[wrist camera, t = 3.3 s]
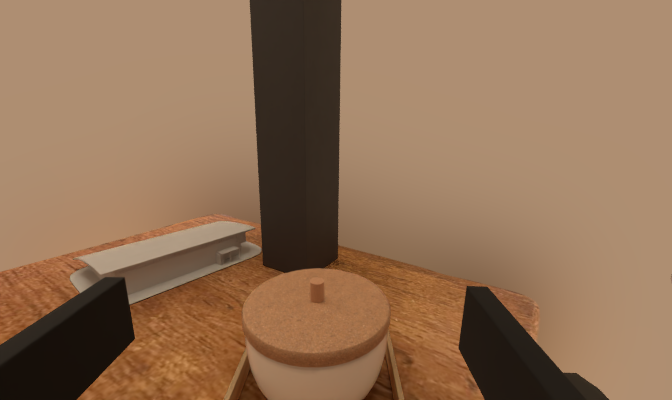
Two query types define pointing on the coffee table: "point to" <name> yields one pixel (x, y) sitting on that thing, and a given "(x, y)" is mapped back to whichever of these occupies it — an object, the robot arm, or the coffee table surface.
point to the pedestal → (297, 129)
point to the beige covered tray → (168, 259)
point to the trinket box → (316, 335)
